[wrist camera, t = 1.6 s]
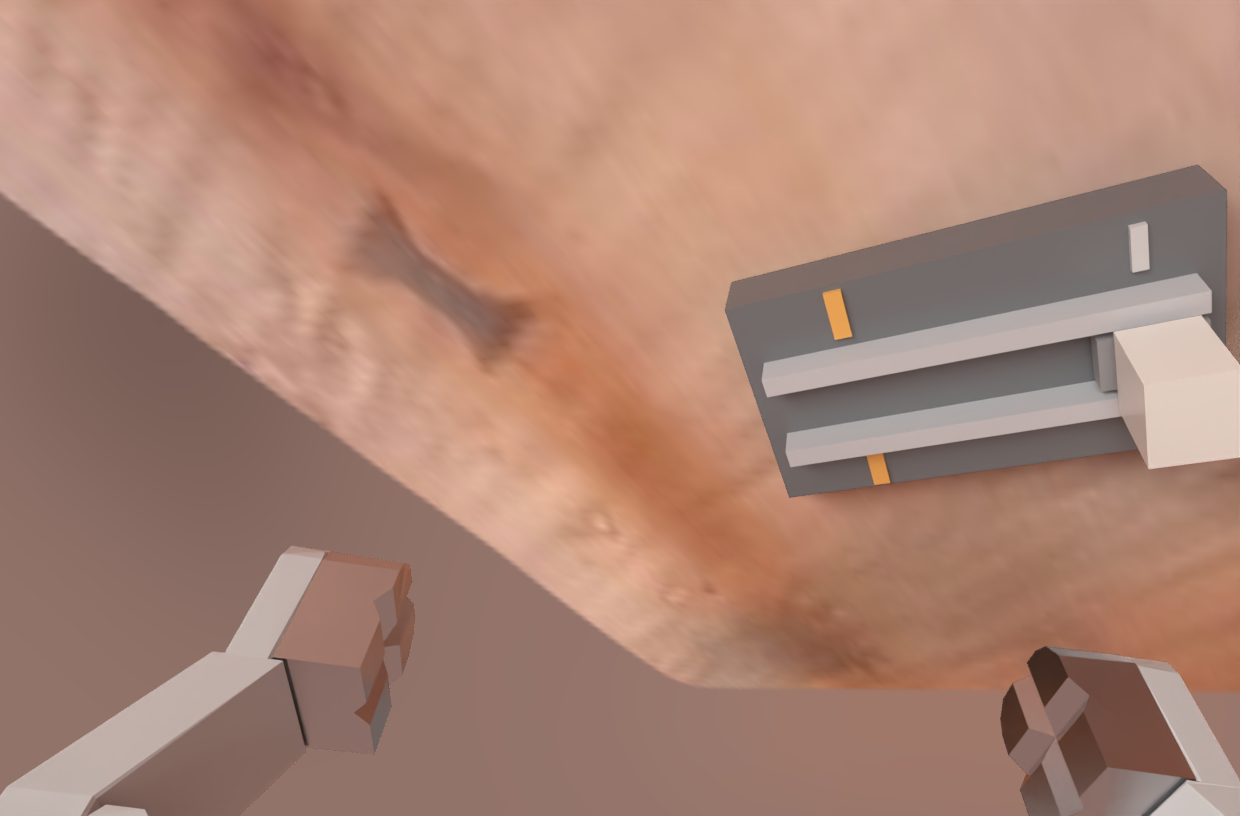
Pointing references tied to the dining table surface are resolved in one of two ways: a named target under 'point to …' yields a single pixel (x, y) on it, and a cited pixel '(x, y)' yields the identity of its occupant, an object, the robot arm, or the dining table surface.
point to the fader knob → (1173, 390)
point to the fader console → (974, 334)
